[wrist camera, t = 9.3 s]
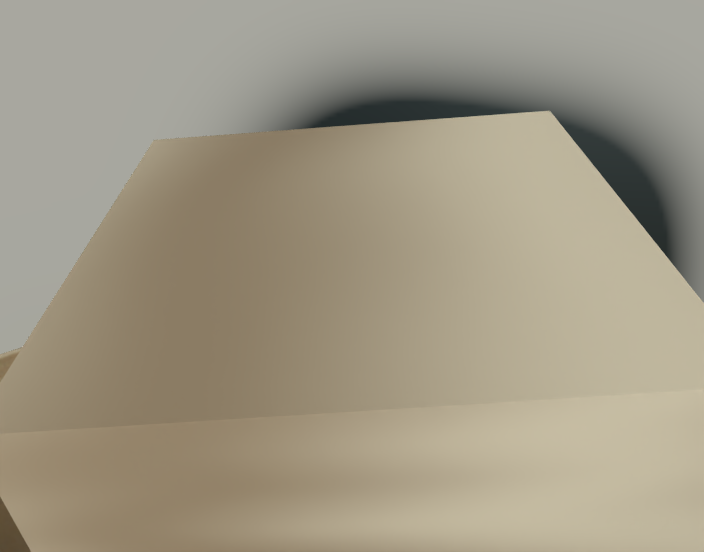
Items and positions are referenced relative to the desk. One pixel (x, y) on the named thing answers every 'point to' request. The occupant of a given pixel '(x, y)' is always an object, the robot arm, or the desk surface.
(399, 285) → the ash pillar block
